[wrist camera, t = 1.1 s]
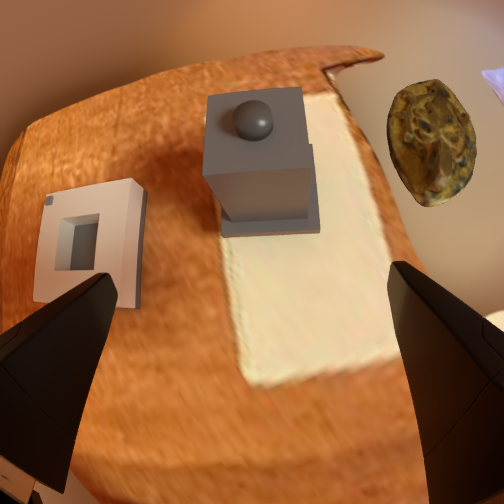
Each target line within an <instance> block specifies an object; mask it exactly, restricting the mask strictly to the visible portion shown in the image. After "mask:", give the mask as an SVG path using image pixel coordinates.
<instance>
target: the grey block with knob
mask: <svg viewBox="0 0 504 504" xmlns="http://www.w3.org/2000/svg"><path fill="white" fill-rule="evenodd" d="M202 176H203V178H204V179H205V181H206V182H207V184H208V185H209V187H210V188H211V190H212V192H213V193H214V195H215V196H216V198H217V199H218V201H219V202H220V204H221V205H222V209H221V235H222V236H223V237H224V238H229V237H248V236H268V235H290V234H312V233H320V218H319V206H318V195H317V184H316V174H315V165H314V156H313V147H312V144H309V141H308V132H307V124H306V117H305V109H304V102H303V95H302V88H301V87H289V88H273V89H261V90H250V91H241V92H232V93H224V94H217V95H210V96H208V101H207V113H206V125H205V138H204V153H203V169H202Z"/></svg>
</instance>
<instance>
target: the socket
mask: <svg viewBox="0 0 504 504" xmlns="http://www.w3.org/2000/svg"><path fill="white" fill-rule="evenodd" d="M147 193H148V192H147V191H146V190H145V189H144V188H142V187H141V186H140V185H139V184H138V183H137V182H136V181H135V180H133V179H132V178H128V179H122V180H116V181H110V182H105V183H99V184H94V185H89V186H84V187H79V188H74V189H69V190H64V191H60V192H55V193H51V194H46V199H45V204H44V209H43V215H42V221H41V227H40V233H39V240H38V248H37V256H36V265H35V276H34V290H33V301H35V302H42V303H50V302H52V301H53V300H55V299H56V298H58V297H59V296H61V295H63V294H64V293H66V292H67V291H69V290H71V289H72V288H74V287H75V286H77V285H79V284H80V283H82V282H83V281H85V280H87V279H88V278H90V277H92V276H93V275H95V274H97V273H103V272H107V273H109V274H110V275H111V277H112V280H113V282H114V284H115V287H116V289H117V292H118V300H117V303H116V307H115V308H128V309H140V287H141V265H142V248H143V235H144V223H145V212H146V202H147Z"/></svg>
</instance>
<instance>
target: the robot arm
mask: <svg viewBox="0 0 504 504" xmlns="http://www.w3.org/2000/svg"><path fill="white" fill-rule="evenodd" d="M387 292H388V297H389V302H390V307H391V312H392V318H393V324H394V329H395V334H396V338H397V341H398V345H399V349H400V352H401V356H402V360H403V363H404V367H405V371H406V375H407V379H408V383H409V387H410V391H411V396H412V400H413V405H414V409H415V414H416V419H417V424H418V429H419V434H420V439H421V445H422V451H423V457H424V464H425V471H426V479H427V486H428V495H429V504H504V332H503V331H501V330H500V329H499V328H497V327H496V326H495V325H493V324H492V323H491V322H490V321H488V320H487V319H486V318H483V317H482V315H480V314H479V313H478V312H476V311H475V310H474V309H472V308H471V307H470V306H468V305H467V304H466V303H464V302H463V301H461V300H460V299H459V298H457V297H456V296H455V295H453V294H452V293H450V292H449V291H447V290H446V289H445V288H443V287H442V286H441V285H439V284H438V283H436V282H435V281H433V280H432V279H431V278H429V277H428V276H426V275H425V274H423V273H422V272H420V271H419V270H417V269H416V268H414V267H413V266H412V265H410V264H409V263H407V262H405V261H393V262H392V263H391V265H390V271H389V277H388V282H387ZM117 300H118V292H117V289H116V287H115V284H114V282H113V280H112V277H111V275H110V274H109V273H107V272H103V273H97V274H95V275H93V276H92V277H90V278H88V279H87V280H85V281H83V282H82V283H80V284H79V285H77V286H75V287H74V288H72V289H71V290H69V291H67V292H66V293H64V294H63V295H61V296H59V297H58V298H56V299H55V300H53V301H52V302H50V303H48V304H47V305H45V306H44V307H42V308H41V309H39V310H38V311H36V312H35V313H33V314H32V315H30V316H28V317H27V318H25V319H24V320H23V321H21V322H19V323H18V324H16V325H15V326H13V327H12V328H10V329H9V330H7V331H6V332H4V333H3V334H1V335H0V504H43V503H42V501H41V498H40V495H39V493H38V492H36V491H34V490H33V488H34V485H35V482H36V481H38V482H39V483H41V484H43V485H45V486H47V487H49V488H51V489H53V490H55V491H57V492H59V493H61V494H63V493H64V490H65V485H66V480H67V476H68V471H69V466H70V462H71V457H72V453H73V449H74V445H75V440H76V436H77V432H78V429H79V425H80V421H81V417H82V414H83V410H84V407H85V404H86V400H87V397H88V393H89V390H90V387H91V384H92V381H93V378H94V374H95V371H96V368H97V365H98V362H99V359H100V356H101V354H102V351H103V348H104V345H105V342H106V339H107V336H108V333H109V329H110V326H111V322H112V318H113V314H114V310H115V307H116V303H117Z"/></svg>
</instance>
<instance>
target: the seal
mask: <svg viewBox="0 0 504 504" xmlns="http://www.w3.org/2000/svg"><path fill="white" fill-rule="evenodd" d="M387 140H388V145H389V150H390V157H391V160H392V163H393V165H394V167H395V169H396V170H397V173H398V176H399V177H400V179H401V181H402V182H403V184H404V185H405V187H406V188H407V189H408V191H409V192H410V193H411V194H412V196H413V197H414V199H415V200H416V202H417V203H419V204H420V205H421V206H424V207H433V206H437V205H440V204H443V203H446V202H448V201H450V200H452V199H454V198H455V197H456V196H457V195H458V194H460V193H461V192H462V190H463V189H464V188H465V186H466V185H467V184H468V182H469V181H470V179H471V177H472V174H473V169H474V164H475V158H476V154H477V149H476V135H475V131H474V128H473V125H472V123H471V120H470V115H469V114H468V113H467V112H466V111H465V109H464V108H463V107H462V105H461V104H460V102H459V100H458V99H457V97H456V96H455V94H454V93H453V92H452V91H451V90H450V89H449V88H448V87H447V86H446V85H445V84H443V83H442V82H441V81H440V80H437V79H433V80H427V81H424V82H418V83H416V84H412V85H409V86H407V87H406V88H404V89H402V90H401V91H400V92H398V93H397V95H396V96H395V97H394V100H393V103H392V106H391V108H390V111H389V114H388V119H387Z"/></svg>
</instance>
